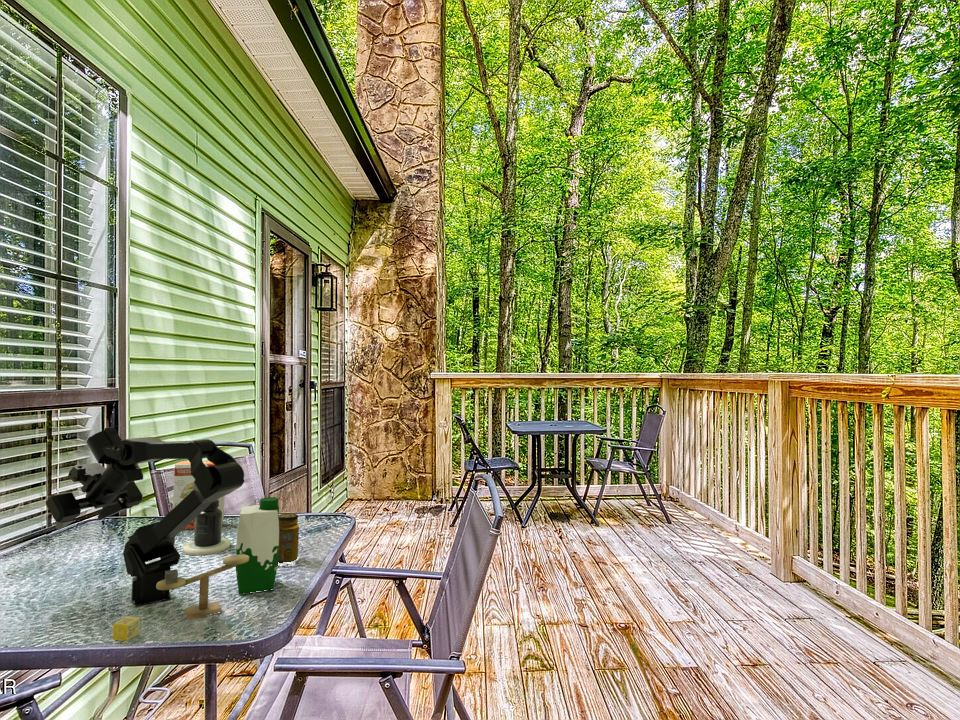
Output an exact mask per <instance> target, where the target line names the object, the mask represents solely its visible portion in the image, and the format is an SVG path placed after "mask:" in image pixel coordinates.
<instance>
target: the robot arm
mask: <svg viewBox="0 0 960 720" xmlns="http://www.w3.org/2000/svg"><path fill="white" fill-rule="evenodd" d="M86 444H87V446H88V449H89V450H90V451H91V453H92V455H93V456H94V458H95V460H96V461H97V463H96V462H91V463H84V464H79V465H74V466H73V467H72V468H71V469H70V470H69V472H68V474H67V476H68V477H67V478H68V479H69V480H71V481H72V482H73V483H76V482H77V483H79V484H81V485H82V487H81V488H80V489H81V491H82V493H85V497H82V498H77V499H76V497H75V495H74V493H73V492H72V491H64V492H61V493H55V494H54V493H53V494H51V495H50V496H49V497H48V498H47V500H46V501H45V504H46V507H47V509H48V510H49V512H50V514H51V515H52V517H53V519H54V521H55V528H56V530H57V531H59V530H62V529H63V528H65V527H67V526H69V525H70V524H71V523H73V522H75V521H77V518H78V517H79V516H80V514H81V512H82V510H86V509H90V508H91V509H92V508H94V509H101V508H102V509H101V510H100V512H99V514H98V515H97V518H98V520H99V521H102V520H104V519H106V518H109V517H112V516H114V515H115V514H118V513H121V512H123V511H126V510H128V509H132V508H133V507H135V506H139V505H140V503H141V502H142V501H143V499H144V498H143V493H142V492H141V490H140V488H139V487H138V485H137V483H136V482H137V481H143V480H144V474H143V472H142V471H143V470H142V468H141V467H140V466H139V464H144V463H151V462H154V461H155V462H156V461H159V460H188V462H190V465H191V475H192V476H193V477H194V479H195V481H194V489H193V490H192V491H191V492H190V493H189V494H188V495H187V496H186V497H185V498H184V499H183V500H182V501H181V502H180V503H179V504H178V505H177V506H176V507H174V508H173V507H172V508H171V510H170V511H169V512H168V513H167V514H166V515H165V516H164V517H163V518H161V520H159V521H157V522H153V523H149V524H145V525H142V526H139V527H138V528H136V529H135V531H134V532H133V533H132V534H131V535H130V536H127V539H128V540H127V541H126V543H125V544H124V547H123V553H122V555H123V559H124V565H125V569H126V573H127V575H130V577H131V593H130V594H131V597H130V598H131V601H132V602H133V603H134V606H135V607H138V606H142V605H148V604H153V603H157V602H162V601H167V600H171V599H172V598H171V597H172V596H171V592H170V590H158V589H157V588H156V584H157V583H158V582H159V581H161V580H164V579H165V571H170V570H172V569H171V567H173V566H176V565H178V564H179V562H180V559H181V555H180V553H179V551H178V550H177V548H176V547H175V544H176V540H175V539H176V537H177V536H178V535H179V534H180V533H181V532H182V531H183V530H185V529H184V528H185V527H186V526H187V525H188V524H190V523H191V522H192V521H193V520H194V519H195V518H196V517H197V516H198V515H199V514H200V513H201V512H203V511H204V510H205V509H206V508H207V507H208V506H209V505H210V504H211V503H212V502H213V501H215V500H217V499H219V498H221V497H223V496H228V495H230V494H232V493H233V492H235V491H237V490H238V489H239V488H242V486H243V485H244V482H245V471H244V469H243V467H242V465H240V464H239V463H238V461H237V460H236V459H235V458H234V456H232V455H231V454H229V453H228V452H226V451H225V450H222V449H221V448H220V447H219V446H218V445H217V444H216V443H215V442H214V441H213V440H212V439H207V438H205V439H196V440H173V441H171V440H170V441H164V440H162V439H160V438H157V437H153V436H145V437H134V438H125V439H122V438H121V436H120V435H119V433H118V430H117V429H116V427H114V426H110V427H104V429H103V430H101V431H98V432H96V433H94V434H92V435H91V436H88V438H87V439H86ZM203 459H206V460H208V461H210V462H212V463H213V464H215V465H214V466H208V467H206V466H205V464H204V463H203V462H202V461H203ZM103 465H107V466H106V467H105V466H103ZM156 559H158V560H156ZM154 560H155V561H154ZM151 561H152V562H151ZM147 562H149V563H147Z"/></svg>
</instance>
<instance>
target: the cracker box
mask: <svg viewBox="0 0 960 720" xmlns="http://www.w3.org/2000/svg"><path fill="white" fill-rule="evenodd" d="M202 462H203V463H204V464H205V466H206V467H208V466H214V465H215V464H213V463H212V462H210V461H209V460H208V461H205V460H204V461H203V460H202ZM173 474H174V477H173V494H172V495H173V496H172V509H173V508H174V507H176V506H177V505H178V504H179V503H180V502H181V501H182V500H183V499H184V498H185V497H186V496H187V495H188V494H189V493H190V492H191V491H192V490H193V489H194V481H195V479H194V477H193V476H192V475H191V465H190V462H189V461H179V462H177V463H176V464H174V473H173ZM225 496H226V495H225ZM225 496H223V497H221V498H219V499H218V500H219V507H218V509H220V510H221V511H222V525H223V524H224V519H225V518H224V516H225V499H226V498H225ZM183 530H195V519H194V520H193V521H192V522H191V523H190V524H188V525H187V526H186V527H185V528H184V529H183Z"/></svg>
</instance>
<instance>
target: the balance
mask: <svg viewBox="0 0 960 720" xmlns="http://www.w3.org/2000/svg"><path fill="white" fill-rule="evenodd" d="M248 561H249V556H248V555H244V554H239V555H236V554H231V555H228V556H225V557H223V559H222V563H223V565H222V566H219V567H217V568H215V569H211V570H209V571H205V572H203V573H200V574H198V575H195V576H193V577H190V578H187V579H186V578H184V577H179V572H178V569H171V570H170V571H165V579H164V580H161V581H159V582H158V583H157V584H156V588H157V589H158V590H171V591H174V590H177V589H179V588H182V587H184V586H185V587H186V586H187V585H190V584H193V583H195V582H198V581H199V593H198V594H199V595H198V596H199V597H198V599H199V600H198V604H197V605H192V606H189V607H188V606H187V607H185V609H184V614H185V616H186V620H187V621H189V620H194V618H196V619H199V617H200V618H203V616H204V617H207V616H206V615H209V616H211V615H210V614H213V615H215V614H214V613H218V612H221V613H222V607H221V604H220V603H219V600H216V601H212V602H209V586H210V585H209V582H210V577H212V576H214V575H217V574H219V573H222V572H225V571H227V570H230V569H233V568H236V566H237V565H239V564H243V563H246V562H248ZM218 614H219V613H218Z"/></svg>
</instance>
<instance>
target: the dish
mask: <svg viewBox="0 0 960 720" xmlns="http://www.w3.org/2000/svg"><path fill="white" fill-rule="evenodd" d="M230 547H231V539H229V538H225V537H221V542H220V543H219V544H217V545H214V546H208V547H198V546H196V545H195V544H194V540H191V541H188V542H186V543H184V544H183V545H182V551H181V552H182V554H185V555H189V556H206V555H213V554H217V553H221V552H223V551H226V550H228V549H230Z"/></svg>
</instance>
